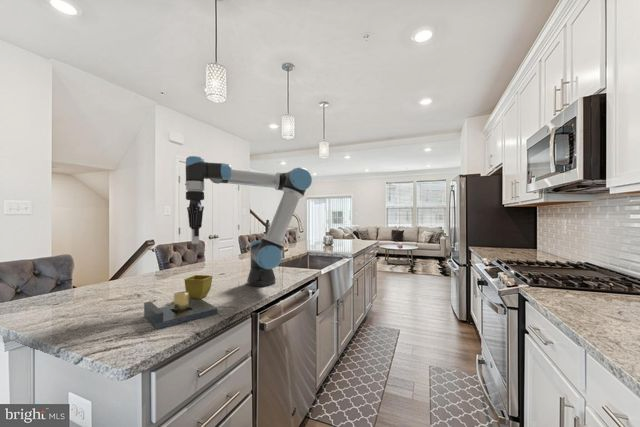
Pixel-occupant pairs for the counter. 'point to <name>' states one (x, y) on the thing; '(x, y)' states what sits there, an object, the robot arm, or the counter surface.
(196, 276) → the flower pot
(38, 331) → the counter surface
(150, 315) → the jig
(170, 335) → the counter surface
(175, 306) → the bushing
